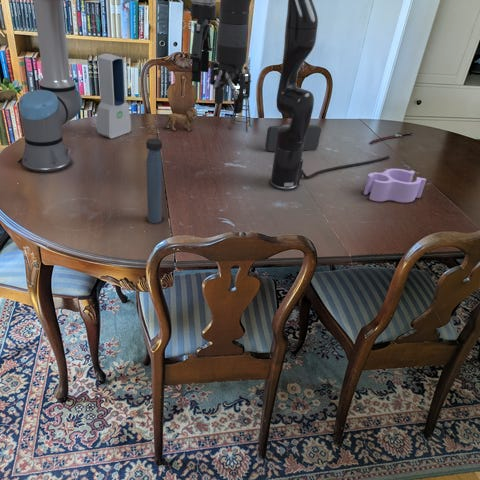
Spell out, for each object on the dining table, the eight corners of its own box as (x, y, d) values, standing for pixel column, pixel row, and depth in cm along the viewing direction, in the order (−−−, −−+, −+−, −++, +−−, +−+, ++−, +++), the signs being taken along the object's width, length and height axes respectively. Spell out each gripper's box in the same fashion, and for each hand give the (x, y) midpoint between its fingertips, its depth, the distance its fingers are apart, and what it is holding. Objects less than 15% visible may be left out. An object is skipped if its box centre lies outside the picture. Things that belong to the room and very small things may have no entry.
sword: (407, 132, 223) (408, 129, 223) (413, 134, 221) (413, 131, 221) (364, 143, 208) (365, 141, 207) (370, 146, 206) (370, 143, 205)
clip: (376, 205, 156) (381, 186, 152) (357, 188, 166) (361, 170, 162) (425, 200, 162) (431, 182, 159) (404, 184, 172) (409, 167, 168)
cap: (150, 143, 126) (150, 137, 125) (164, 146, 125) (164, 140, 124) (143, 148, 123) (143, 142, 122) (157, 151, 122) (157, 145, 121)
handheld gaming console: (315, 147, 196) (319, 124, 190) (317, 149, 194) (322, 126, 188) (264, 149, 189) (267, 125, 183) (266, 152, 187) (269, 127, 181)
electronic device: (109, 139, 182) (104, 59, 166) (96, 134, 185) (89, 55, 169) (132, 131, 192) (129, 55, 175) (118, 127, 195) (114, 51, 178)
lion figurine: (195, 126, 204) (195, 105, 199) (198, 130, 200) (199, 109, 195) (161, 127, 199) (161, 106, 194) (164, 131, 195) (164, 110, 190)
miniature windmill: (247, 131, 204) (254, 60, 188) (228, 128, 205) (234, 57, 189) (250, 125, 212) (258, 55, 196) (232, 122, 213) (238, 53, 197)
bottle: (151, 214, 138) (150, 138, 125) (164, 217, 137) (164, 141, 124) (145, 221, 134) (143, 143, 122) (157, 224, 134) (157, 146, 121)
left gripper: (208, 9, 129) (204, 87, 140) (222, 1, 150) (218, 69, 161) (181, 6, 129) (179, 84, 141) (199, -2, 150) (196, 66, 162)
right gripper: (262, 48, 111) (255, 114, 120) (227, 36, 120) (223, 98, 129) (237, 49, 107) (232, 118, 116) (203, 37, 116) (201, 101, 125)
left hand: (200, 76), depth 151 cm, fingers open, 13 cm apart
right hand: (227, 108), depth 123 cm, fingers open, 8 cm apart
